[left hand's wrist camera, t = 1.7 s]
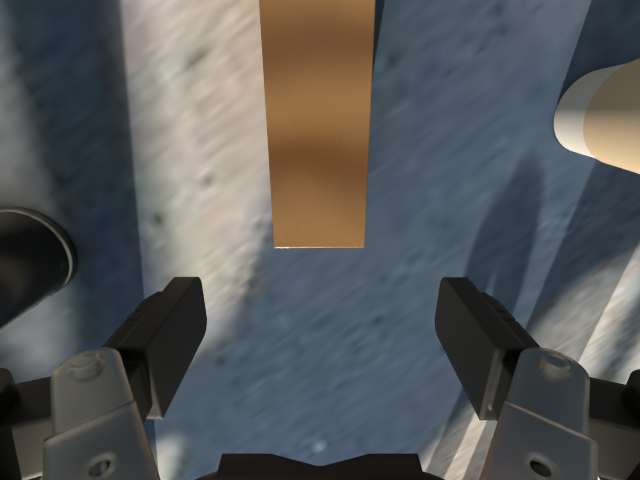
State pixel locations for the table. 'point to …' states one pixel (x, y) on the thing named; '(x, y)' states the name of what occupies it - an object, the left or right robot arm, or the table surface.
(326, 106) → the box
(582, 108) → the coffee cup
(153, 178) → the table surface
